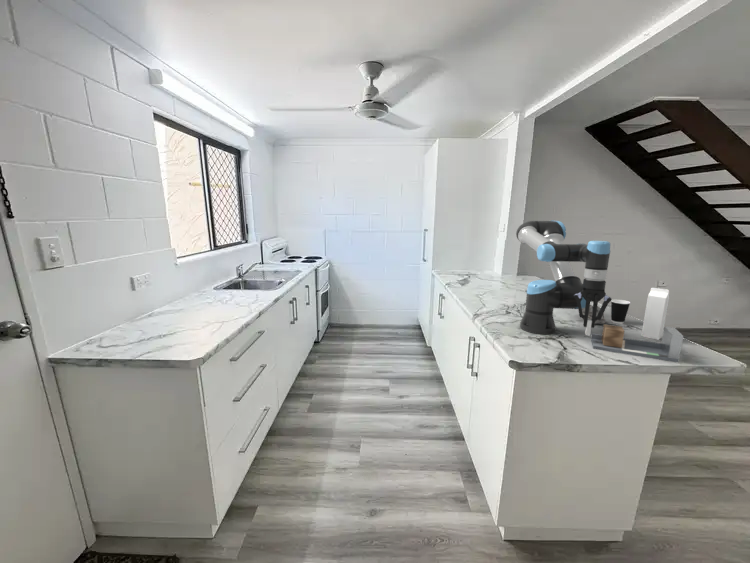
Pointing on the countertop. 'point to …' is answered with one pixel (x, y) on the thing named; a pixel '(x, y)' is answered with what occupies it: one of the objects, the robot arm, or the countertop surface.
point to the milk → (655, 313)
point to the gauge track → (633, 348)
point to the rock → (596, 315)
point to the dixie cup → (619, 310)
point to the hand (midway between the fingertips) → (587, 334)
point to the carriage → (613, 336)
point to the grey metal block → (671, 342)
